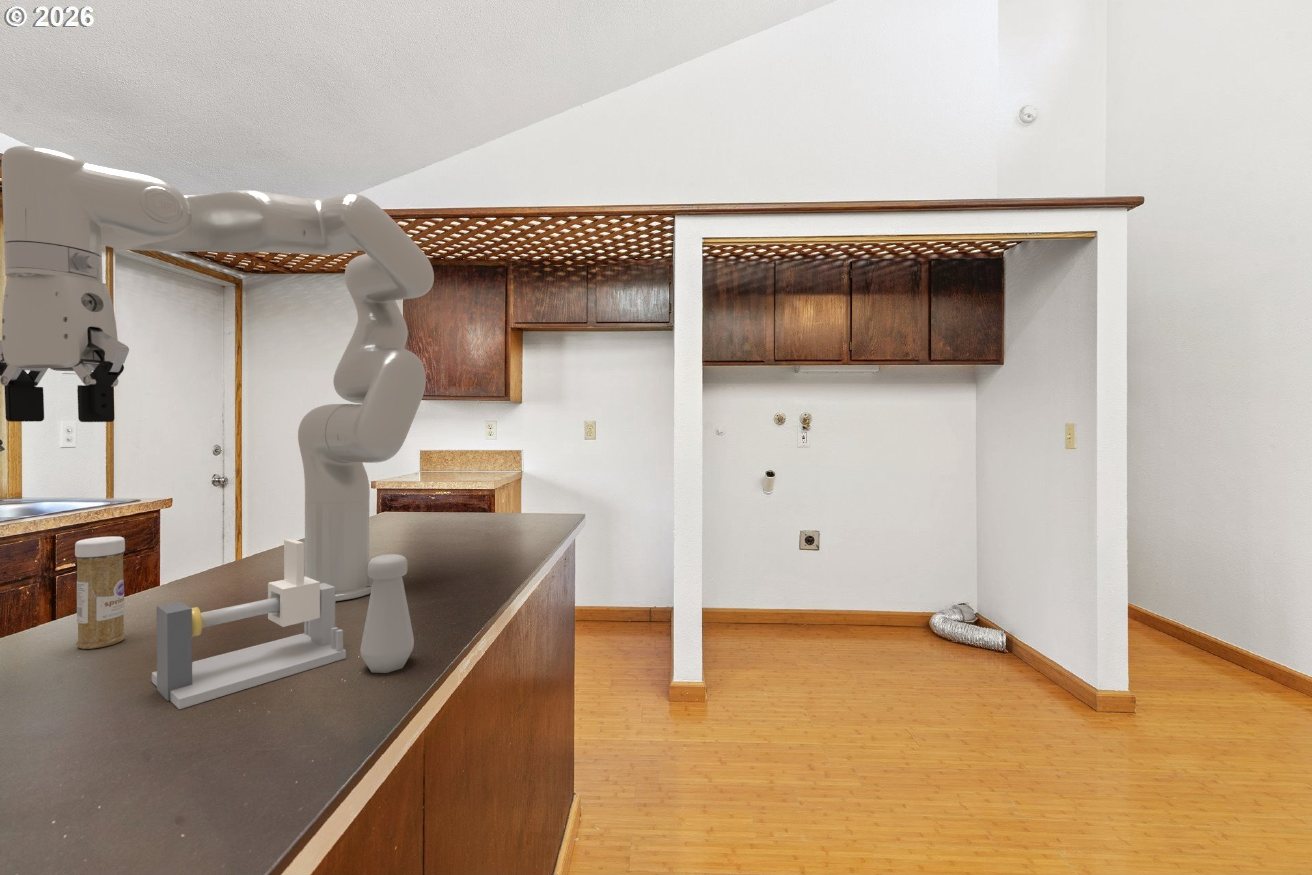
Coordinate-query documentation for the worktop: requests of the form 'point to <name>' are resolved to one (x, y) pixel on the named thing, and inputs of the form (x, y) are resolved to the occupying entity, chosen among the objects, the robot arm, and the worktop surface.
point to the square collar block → (294, 589)
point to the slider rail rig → (244, 666)
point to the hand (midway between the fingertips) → (60, 421)
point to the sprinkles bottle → (100, 591)
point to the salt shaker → (387, 616)
